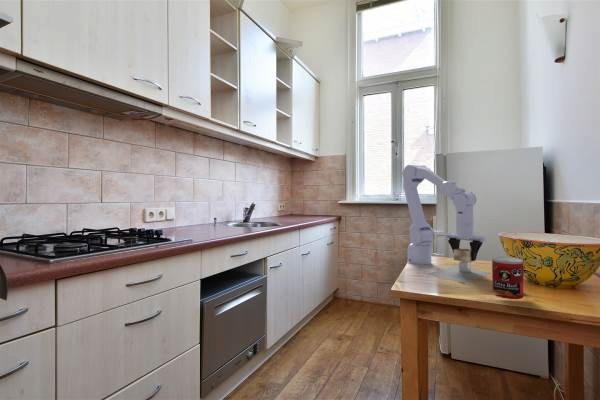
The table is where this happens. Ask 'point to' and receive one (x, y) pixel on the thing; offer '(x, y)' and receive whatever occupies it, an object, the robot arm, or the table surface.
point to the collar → (462, 255)
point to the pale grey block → (465, 266)
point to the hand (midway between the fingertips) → (465, 259)
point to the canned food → (507, 277)
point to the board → (458, 274)
